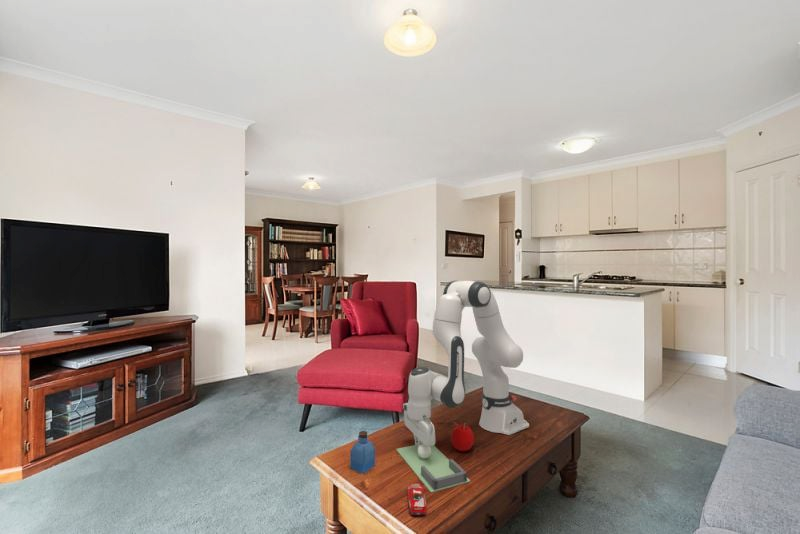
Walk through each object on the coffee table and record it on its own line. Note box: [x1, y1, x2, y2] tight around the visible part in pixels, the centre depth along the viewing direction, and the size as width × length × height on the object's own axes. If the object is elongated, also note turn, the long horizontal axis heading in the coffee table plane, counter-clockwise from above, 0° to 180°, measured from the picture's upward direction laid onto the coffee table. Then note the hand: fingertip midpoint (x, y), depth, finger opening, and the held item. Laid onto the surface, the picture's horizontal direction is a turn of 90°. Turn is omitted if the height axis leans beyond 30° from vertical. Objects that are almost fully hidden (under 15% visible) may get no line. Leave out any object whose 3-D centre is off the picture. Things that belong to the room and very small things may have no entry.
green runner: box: [395, 444, 471, 494], centre depth 126 cm, size 15×28×1 cm, turn 24°
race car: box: [406, 482, 428, 516], centre depth 106 cm, size 13×5×4 cm, turn 1°
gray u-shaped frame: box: [421, 458, 468, 490], centre depth 118 cm, size 12×9×3 cm
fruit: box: [450, 423, 475, 452], centre depth 138 cm, size 9×9×10 cm
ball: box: [418, 444, 431, 459], centre depth 130 cm, size 5×5×5 cm
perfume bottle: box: [349, 430, 376, 475], centre depth 124 cm, size 6×6×12 cm
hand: (418, 446), depth 135 cm, fingers closed
